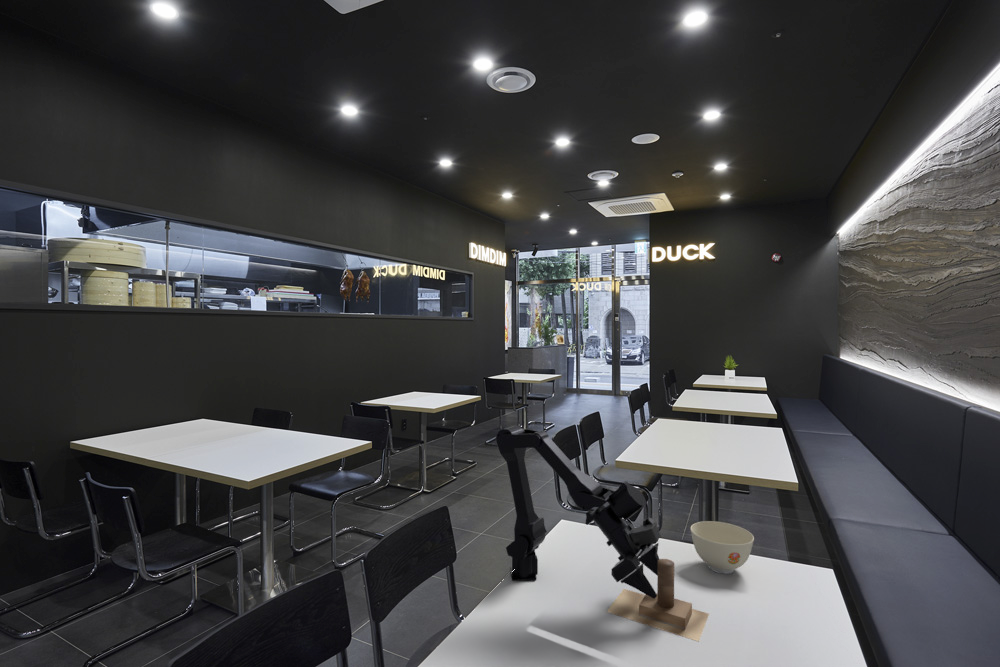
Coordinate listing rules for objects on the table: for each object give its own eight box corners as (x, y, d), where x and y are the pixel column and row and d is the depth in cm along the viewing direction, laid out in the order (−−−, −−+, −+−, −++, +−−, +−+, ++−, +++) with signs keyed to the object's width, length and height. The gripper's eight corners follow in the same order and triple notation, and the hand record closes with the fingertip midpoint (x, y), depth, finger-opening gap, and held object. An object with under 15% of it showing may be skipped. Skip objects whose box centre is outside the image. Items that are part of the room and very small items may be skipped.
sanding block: (639, 615, 113) (639, 562, 113) (647, 601, 119) (648, 551, 119) (685, 630, 108) (685, 574, 108) (691, 614, 114) (692, 561, 114)
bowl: (749, 560, 143) (749, 525, 143) (757, 587, 128) (758, 548, 128) (689, 551, 148) (689, 518, 148) (691, 576, 133) (691, 539, 133)
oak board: (606, 615, 115) (606, 611, 115) (623, 592, 125) (623, 588, 125) (698, 646, 104) (698, 641, 104) (709, 618, 114) (709, 613, 114)
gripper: (626, 523, 109) (677, 588, 103) (650, 499, 124) (696, 554, 119) (591, 550, 113) (639, 614, 107) (619, 523, 129) (661, 577, 123)
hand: (661, 588), depth 114 cm, fingers open, 9 cm apart
